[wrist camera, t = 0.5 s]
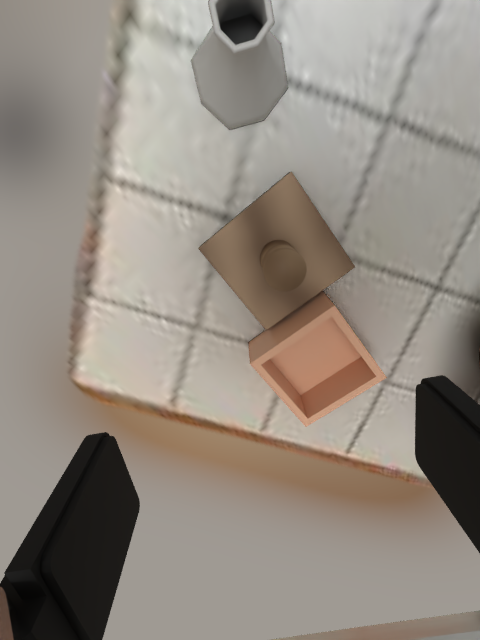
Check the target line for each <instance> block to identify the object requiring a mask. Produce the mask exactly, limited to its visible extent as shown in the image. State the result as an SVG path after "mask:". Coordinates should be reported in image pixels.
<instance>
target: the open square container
mask: <svg viewBox="0 0 480 640" xmlns="http://www.w3.org/2000/svg"><path fill="white" fill-rule="evenodd" d="M248 343H249V357H250V364H251V366H252V367H253V368H254V369H255V370H256V371H257V372H258V373H259V375H260V376H261V377H262V378H263V379H264V380H265V381H266V382H267V384H268V385H269V386H270V387H271V388H272V389H273V390H274V391H275V393H276V394H277V395H278V396H279V397H280V398H281V399H282V401H283V402H284V403H285V404H286V405H287V406H288V407H289V408H290V410H291V411H292V412H293V413H294V414H295V415H296V416H297V417H298V419H299V420H300V421H301V422H302V423H303V424H304V425H305V426H308V425H310V424H311V423H313V422H315V421H316V420H318V419H320V418H321V417H323V416H325V415H326V414H328V413H329V412H331V411H333V410H334V409H336V408H338V407H339V406H341V405H343V404H344V403H346V402H348V401H349V400H351V399H352V398H354V397H356V396H357V395H359V394H361V393H362V392H364V391H366V390H367V389H369V388H371V387H372V386H374V385H375V384H377V383H379V382H380V381H382V380H384V379H385V378H387V377H386V376H385V374H384V373H383V372H382V370H381V369H380V368H379V366H378V365H377V363H376V362H375V361H374V359H373V358H372V356H371V355H370V354H369V352H368V351H367V350H366V348H365V347H364V345H363V344H362V343H361V341H360V340H359V338H358V337H357V336H356V334H355V333H354V332H353V330H352V329H351V327H350V326H349V325H348V323H347V322H346V320H345V319H344V318H343V316H342V315H341V314H340V312H339V311H338V309H337V308H336V307H335V305H334V304H333V303H332V302H331V300H330V299H329V298H328V297H327V296H326V294H325V293H324V292H323V291H321V292H319V293H318V294H317V295H315V296H314V297H312V298H311V299H310V300H308V301H307V302H305V303H304V304H303V305H301V306H300V307H298V308H297V309H296V310H294V311H293V312H291V313H290V314H289V315H287V316H286V317H284V318H283V319H281V320H280V321H279V322H277V323H276V324H274V325H273V326H272V327H270V328H269V329H267V330H265V331H264V332H262V333H261V334H259V335H258V336H257V337H255V338H254V339H252V340H251V341H250V342H248Z"/></svg>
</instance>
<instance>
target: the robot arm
mask: <svg viewBox="0 0 480 640" xmlns="http://www.w3.org/2000/svg"><path fill="white" fill-rule="evenodd" d="M415 456H416V460H417V463H418V465H419V467H420V468H421V470H422V471H423V472H424V474H425V475H426V477H427V478H428V480H429V481H430V482H431V484H432V485H433V487H434V488H435V490H436V491H437V492H438V494H439V495H440V497H441V498H442V500H443V501H444V502H445V504H446V505H447V507H448V508H449V510H450V511H451V513H452V514H453V515H454V517H455V518H456V520H457V521H458V523H459V524H460V525H461V527H462V528H463V530H464V531H465V533H466V534H467V535H468V537H469V538H470V540H471V541H472V543H473V544H474V546H475V547H476V548H477V550H478V551H479V553H480V405H479V404H478V403H477V402H475V401H474V400H473V399H472V398H471V397H469V396H468V395H467V394H466V393H465V392H463V391H462V390H461V389H460V388H459V387H458V386H456V385H455V384H454V383H453V382H452V381H450V380H449V379H448V378H447V377H445V376H436V377H430V378H424V379H422V381H421V384H418V385H417V386H416V420H415ZM139 504H140V503H139V498H138V495H137V492H136V490H135V487H134V485H133V482H132V480H131V477H130V475H129V472H128V470H127V467H126V464H125V462H124V459H123V457H122V454H121V452H120V449H119V447H118V444H117V441H116V439H115V438H114V437H113V436H109V434H108V433H106V432H105V433H99V434H92V435H88V436H86V437H85V439H84V440H83V442H82V443H81V445H80V447H79V449H78V450H77V452H76V453H75V455H74V457H73V459H72V460H71V462H70V464H69V465H68V467H67V469H66V470H65V472H64V474H63V475H62V477H61V479H60V480H59V482H58V484H57V485H56V487H55V489H54V490H53V492H52V494H51V495H50V497H49V499H48V500H47V502H46V504H45V506H44V507H43V509H42V511H41V512H40V514H39V516H38V517H37V519H36V521H35V522H34V524H33V526H32V527H31V529H30V531H29V532H28V534H27V536H26V538H25V539H24V541H23V543H22V544H21V546H20V547H19V549H18V551H17V553H16V554H15V556H14V558H13V559H12V561H11V563H10V564H9V566H8V568H7V569H6V571H5V577H4V578H3V580H2V581H1V583H0V640H102V638H103V635H104V632H105V628H106V625H107V621H108V617H109V614H110V610H111V607H112V603H113V600H114V597H115V593H116V590H117V586H118V583H119V579H120V576H121V572H122V569H123V565H124V562H125V558H126V555H127V551H128V548H129V544H130V541H131V537H132V533H133V530H134V527H135V523H136V520H137V516H138V513H139V507H140V505H139ZM272 640H480V611H474V612H466V613H460V614H451V615H444V616H437V617H429V618H422V619H415V620H407V621H400V622H393V623H385V624H378V625H371V626H364V627H357V628H350V629H342V630H335V631H328V632H321V633H314V634H307V635H300V636H293V637H286V638H279V639H272Z"/></svg>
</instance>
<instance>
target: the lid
mask: <svg viewBox="0 0 480 640" xmlns="http://www.w3.org/2000/svg"><path fill="white" fill-rule="evenodd" d="M199 250H200V251H201V252H202V254H203V255H204V256H205V257H206V258H207V260H208V261H209V262H210V263H211V264H212V266H213V267H214V268H215V269H216V271H217V272H218V273H219V274H220V275H221V277H222V278H223V279H224V280H225V281H226V283H227V284H228V285H229V286H230V287H231V289H232V290H233V291H234V292H235V293H236V295H237V296H238V297H239V298H240V299H241V301H242V302H243V303H244V304H245V305H246V307H247V308H248V309H249V310H250V312H251V313H252V314H253V315H254V316H255V318H256V319H257V320H258V321H259V322H260V324H261V325H262V326H263V327H264V328H265V330H267V329H269V328H270V327H272V326H273V325H274V324H276V323H277V322H279V321H280V320H281V319H283V318H284V317H286V316H287V315H289V314H290V313H291V312H293V311H294V310H296V309H297V308H298V307H300V306H301V305H303V304H304V303H305V302H307V301H308V300H310V299H311V298H312V297H314V296H315V295H317V294H318V293H319V292H321V291H322V290H324V289H325V288H327V287H328V286H329V285H331V284H332V283H334V282H335V281H336V280H338V279H339V278H341V277H342V276H343V275H345V274H346V273H348V272H349V271H350V270H352V269H353V268H355V266H354V265H353V263H352V262H351V260H350V259H349V257H348V256H347V254H346V253H345V251H344V250H343V248H342V247H341V245H340V244H339V242H338V241H337V239H336V238H335V236H334V235H333V233H332V232H331V230H330V229H329V227H328V226H327V224H326V223H325V221H324V220H323V218H322V217H321V215H320V214H319V212H318V211H317V209H316V208H315V206H314V205H313V203H312V202H311V200H310V199H309V197H308V196H307V194H306V193H305V191H304V190H303V188H302V187H301V185H300V184H299V182H298V181H297V179H296V178H295V176H294V175H293V173H292V172H290V173H288V174H287V175H286V176H285V177H284V178H282V179H281V180H280V181H279V182H277V183H276V184H275V185H274V186H273V187H271V188H270V189H269V190H268V191H267V192H265V193H264V194H263V195H262V196H261V197H259V198H258V199H257V200H256V201H254V202H253V203H252V204H251V205H250V206H248V207H247V208H246V209H245V210H244V211H242V212H241V213H240V214H239V215H238V216H236V217H235V218H234V219H233V220H232V221H230V222H229V223H228V224H227V225H225V226H224V227H223V228H222V229H221V230H219V231H218V232H217V233H216V234H215V235H213V236H212V237H211V238H210V239H209V240H207V241H206V242H205V243H204V244H202V245H201V246H200V247H199Z"/></svg>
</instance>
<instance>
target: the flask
mask: <svg viewBox="0 0 480 640" xmlns="http://www.w3.org/2000/svg"><path fill="white" fill-rule="evenodd" d="M208 5H209V10H210V15H211V19H212V24H213V26H212V28H211V29H210V31H209V33H208V34H207V36H206V37H205V39H204V40H203V42H202V44H201V45H200V47H199V48H198V50H197V51H196V53H195V55H194V56H193V58H192V59H191V63H192V67H193V71H194V75H195V79H196V84H197V88H198V92H199V96H200V100H201V103H202V104H203V105H204V106H205V107H206V108H207V109H208V110H209V111H210V112H211V113H212V114H213V115H214V116H215V117H217V118H218V119H219V120H220V121H221V122H222V123H223V124H224V125H225V126H226V127H227V128H228V129H229V130H230V129H234V128H237V127H241V126H245V125H248V124H252V123H256V122H259V121H263V120H265V118H266V117H267V116H268V114H269V113H270V112H271V110H272V109H273V107H274V106H275V105H276V103H277V102H278V101H279V99H280V98H281V97H282V95H283V94H284V93H285V91H286V90H287V89H288V83H287V76H286V70H285V64H284V57H283V51H282V45H281V42H280V41H279V40H278V39H277V38H276V37H275V36H274V35H273V34H272V33H271V32H270V29H271V28H272V26H273V25H274V22H275V21H274V15H273V9H272V3H271V0H209V1H208Z"/></svg>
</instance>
